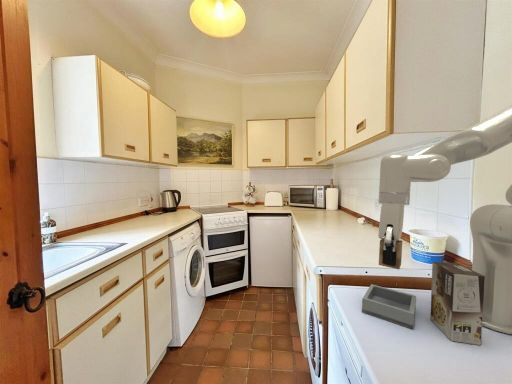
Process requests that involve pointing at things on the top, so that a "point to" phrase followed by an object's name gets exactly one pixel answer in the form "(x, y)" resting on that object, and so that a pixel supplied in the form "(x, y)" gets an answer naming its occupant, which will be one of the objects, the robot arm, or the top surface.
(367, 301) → the tray
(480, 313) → the coffee box
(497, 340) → the top surface
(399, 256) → the walnut block
